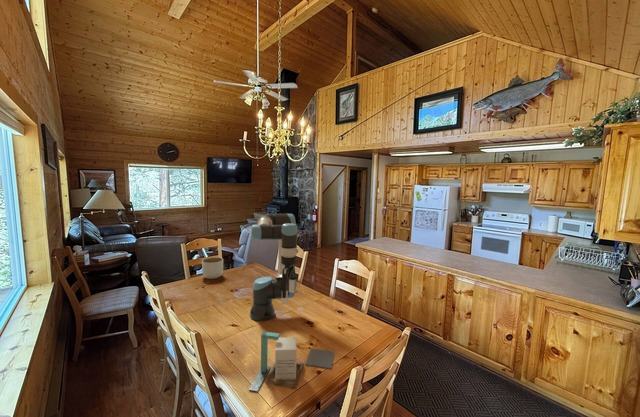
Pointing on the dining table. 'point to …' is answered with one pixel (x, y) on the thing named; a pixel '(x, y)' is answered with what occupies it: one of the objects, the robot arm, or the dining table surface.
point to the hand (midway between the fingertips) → (288, 297)
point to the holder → (282, 382)
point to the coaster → (320, 358)
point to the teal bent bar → (266, 347)
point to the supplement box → (285, 359)
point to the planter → (212, 267)
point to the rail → (259, 380)
